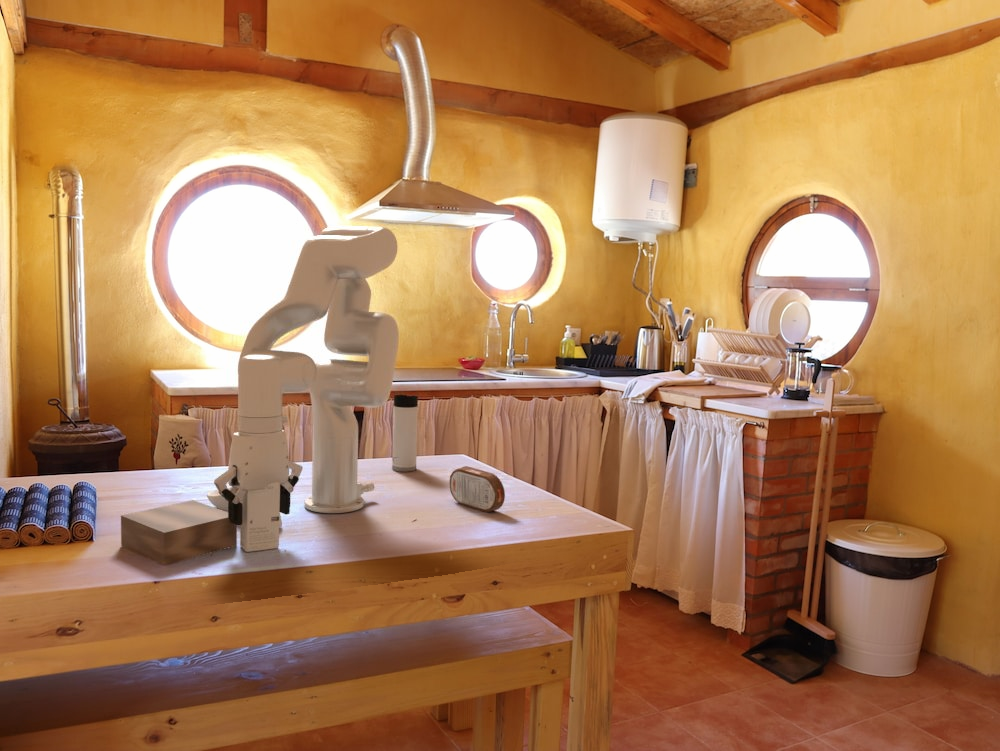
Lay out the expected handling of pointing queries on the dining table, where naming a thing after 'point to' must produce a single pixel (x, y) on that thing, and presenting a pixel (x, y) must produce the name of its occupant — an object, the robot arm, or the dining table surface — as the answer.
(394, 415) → the travel mug
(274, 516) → the skincare box
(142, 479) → the dining table surface
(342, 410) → the robot arm
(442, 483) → the dining table surface
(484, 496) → the tin
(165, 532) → the walnut block
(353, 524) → the dining table surface
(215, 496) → the spoon rest
